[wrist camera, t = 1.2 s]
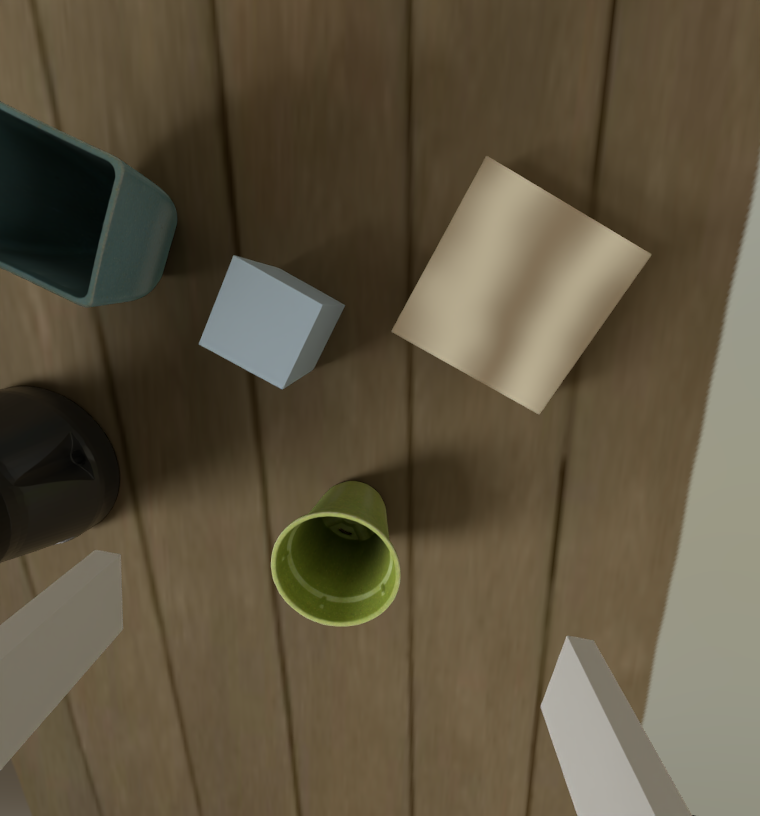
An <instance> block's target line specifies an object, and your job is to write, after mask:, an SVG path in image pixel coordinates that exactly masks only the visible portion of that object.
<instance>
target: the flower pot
mask: <svg viewBox="0 0 760 816" xmlns="http://www.w3.org/2000/svg"><path fill="white" fill-rule="evenodd" d="M176 225H177V212H176V208H175V206H174V204H173V202H172V200H171V199H170V197H169V196H168V195H167V194H166V193H165V192H164V191H163V190H162V189H161V188H160V187H158V186H157V185H156V184H154V183H153V182H152V181H150V180H149V179H147V178H146V177H145V176H143V175H142V174H140V173H139V172H138V171H136V170H135V169H133V168H132V167H130V166H129V165H127V164H126V163H124V162H123V161H121V160H120V159H118V158H117V157H115V156H113V155H111V154H109V153H107V152H105V151H102V150H100V149H98V148H96V147H94V146H92V145H89V144H87V143H85V142H83V141H80V140H78V139H76V138H75V137H72V136H70V135H68V134H66V133H64V132H61V131H59V130H57V129H56V128H53V127H51V126H49V125H47V124H45V123H43V122H41V121H39V120H37V119H35V118H32V117H31V116H29V115H26V114H24V113H22V112H20V111H18V110H16V109H14V108H12V107H10V106H9V105H6V104H4V103H3V102H1V101H0V268H2V269H4V270H6V271H9V272H11V273H13V274H15V275H17V276H20V277H21V278H24V279H26V280H28V281H30V282H32V283H34V284H36V285H38V286H41V287H42V288H45V289H47V290H48V291H51V292H53V293H55V294H57V295H59V296H61V297H63V298H65V299H67V300H69V301H71V302H73V303H75V304H78V305H80V306H83V307H94V306H101V305H108V304H115V303H121V302H128V301H133V300H136V299H139V298H142V297H144V296H145V295H147V294H148V293H150V292H151V291H152V290H153V289H154V287H155V286H156V285H157V283H158V282H159V280H160V279H161V277H162V274H163V271H164V267H165V264H166V261H167V257H168V253H169V250H170V246H171V243H172V239H173V236H174V233H175V229H176Z"/></svg>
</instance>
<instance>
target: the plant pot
mask: <svg viewBox="0 0 760 816" xmlns="http://www.w3.org/2000/svg"><path fill="white" fill-rule="evenodd" d="M339 528H341V529H343V530H345V531H347V532H350V533H352V534H351V535H348V534H345V533H342V532H340V530H339ZM271 570H272V576H273V580H274V582H275V585H276V587H277V589H278V591H279V593H280V595H281V596H282V597H283V599H284V600H285V601H286V602H287V603H288V604H289V605H290V606H291V607H292V608H293V609H294V610H296V611H297V612H298V613H300V614H301V615H303V616H304V617H306V618H308V619H310V620H312V621H315V622H318V623H320V624H324V625H329V626H353V625H358V624H362V623H365V622H368V621H370V620H372V619H374V618H376V617H377V616H379V615H380V614H382V613H383V612H384V611H385V610H386V609H387V608H388V607H389V606H390V604H391V603H392V602H393V600H394V599H395V597H396V594H397V592H398V589H399V585H400V576H401V574H400V564H399V559H398V556H397V553H396V551H395V549H394V547H393V545H392V543H391V542H390V540H389V533H388V524H387V514H386V507H385V504H384V502H383V500H382V498H381V496H380V494H379V493H378V492H377V491H376V490H375V489H373V488H372V487H371V486H369V485H367V484H365V483H362V482H357V481H346V482H343V483H340V484H338V485H335V486H333V487H332V488H330V489H329V490H328V491H327V492H326V494H325V495H324V496H323V497H322V498H321V499H320V501H319V502H318V503H317V504H316V505H315V507H314V508H313V509H312V510H311V511H310V513H309V514H307V515H304V516H302V517H300V518H298V519H296V520H295V521H293V522H292V523H291V524H289V525H288V526H287V527H286V528H285V529H284V530H283V532H282V533H281V534H280V536H279V537H278V539H277V541H276V543H275V545H274V548H273V552H272V557H271Z"/></svg>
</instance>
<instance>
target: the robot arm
mask: <svg viewBox="0 0 760 816" xmlns="http://www.w3.org/2000/svg"><path fill="white" fill-rule="evenodd" d="M118 489H119V469H118V464H117V460H116V457H115V454H114V451H113V449H112V446H111V444H110V442H109V440H108V439H107V437H106V435H105V434H104V432H103V431H102V429H101V428H100V427H99V425H98V424H97V423H96V422H95V421H94V420H93V419H92V417H91V416H90V415H88V414H87V413H86V412H85V411H84V410H83V409H82V408H80V407H79V406H78V405H76V404H75V403H73V402H72V401H70V400H69V399H67V398H65V397H63V396H61V395H59V394H57V393H54V392H52V391H49V390H46V389H42V388H37V387H29V386H18V387H11V388H6V389H1V390H0V563H1V562H4V561H7V560H10V559H13V558H16V557H19V556H22V555H25V554H28V553H31V552H34V551H37V550H40V549H43V548H46V547H48V546H51V545H55V544H59V543H63V542H67V541H69V540H71V539H74V538H76V537H77V536H79V535H81V534H82V533H84V532H85V531H87V530H88V529H90V528H91V527H93V526H94V525H96V524H97V523H99V522H100V521H101V520H102V519H103V518H104V517H105V516H106V515H107V514H108V513H109V512H110V510H111V509H112V507H113V505H114V503H115V500H116V497H117V494H118ZM122 630H123V613H122V579H121V554H116V553H110V552H105V551H99V550H94V551H93V552H92V553H91V554H89V555H88V556H87V557H86V558H84V559H83V560H82V561H81V562H79V563H78V564H77V565H76V566H74V567H73V568H72V569H70V570H69V571H68V572H67V573H65V574H64V575H63V576H62V577H60V578H59V579H58V580H57V581H55V582H54V583H53V584H52V585H50V586H49V587H48V588H47V589H45V590H44V591H43V592H41V593H40V594H39V595H38V596H36V597H35V598H34V599H33V600H31V601H30V602H29V603H28V604H26V605H25V606H24V607H23V608H21V609H20V610H19V611H18V612H16V613H15V614H14V615H12V616H11V617H10V618H9V619H7V620H6V621H5V622H4V623H2V624H1V625H0V770H1V769H2V768H3V767H4V766H5V765H6V763H7V762H8V761H9V760H10V759H11V758H12V757H13V755H14V754H15V753H16V752H17V751H18V750H19V748H20V747H21V746H22V745H23V744H24V743H25V742H26V740H27V739H28V738H29V737H30V736H31V735H32V733H33V732H34V731H35V730H36V729H37V728H38V727H39V725H40V724H41V723H42V722H43V721H44V720H45V718H46V717H47V716H48V715H49V714H50V713H51V712H52V710H53V709H54V708H55V707H56V706H57V705H58V703H59V702H60V701H61V700H62V699H63V698H64V697H65V695H66V694H67V693H68V692H69V691H70V690H71V689H72V687H73V686H74V685H75V684H76V683H77V682H78V680H79V679H80V678H81V677H82V676H83V675H84V674H85V672H86V671H87V670H88V669H89V668H90V667H91V665H92V664H93V663H94V662H95V661H96V660H97V659H98V657H99V656H100V655H101V654H102V653H103V652H104V650H105V649H106V648H107V647H108V646H109V645H110V644H111V642H112V641H113V640H114V639H115V638H116V637H117V635H118V634H119V633H120V632H121V631H122ZM541 709H542V712H543V715H544V718H545V721H546V724H547V727H548V730H549V733H550V736H551V739H552V742H553V745H554V748H555V751H556V754H557V757H558V760H559V762H560V765H561V768H562V771H563V774H564V777H565V780H566V783H567V786H568V789H569V792H570V795H571V798H572V801H573V804H574V807H575V810H576V813H577V816H694V815H691V813H690V811H689V809H688V807H687V806H686V804H685V802H684V800H683V799H682V797H681V795H680V793H679V792H678V790H677V788H676V786H675V784H674V783H673V781H672V779H671V777H670V775H669V774H668V772H667V770H666V768H665V767H664V765H663V763H662V761H661V759H660V758H659V756H658V754H657V752H656V751H655V749H654V747H653V745H652V743H651V742H650V740H649V738H648V736H647V735H646V733H645V731H644V729H643V727H642V726H641V724H640V722H639V720H638V719H637V717H636V715H635V713H634V711H633V710H632V708H631V706H630V704H629V703H628V701H627V699H626V697H625V695H624V694H623V692H622V690H621V688H620V687H619V685H618V683H617V681H616V679H615V678H614V676H613V674H612V672H611V671H610V669H609V667H608V665H607V663H606V662H605V660H604V658H603V656H602V655H601V653H600V651H599V649H598V647H597V646H596V644H595V642H594V640H588V639H583V638H577V637H572V636H567V637H566V640H565V642H564V645H563V648H562V650H561V653H560V656H559V658H558V661H557V664H556V667H555V669H554V672H553V675H552V677H551V680H550V683H549V685H548V688H547V691H546V693H545V696H544V699H543V702H542V704H541Z"/></svg>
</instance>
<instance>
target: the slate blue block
mask: <svg viewBox="0 0 760 816" xmlns="http://www.w3.org/2000/svg"><path fill="white" fill-rule="evenodd" d="M344 307H345V305H344V304H342V303H340V302H339V301H337V300H335V299H333V298H332V297H330V296H328V295H326V294H324V293H323V292H321V291H319V290H317V289H316V288H314V287H312V286H310V285H308V284H307V283H305V282H303V281H301V280H299V279H298V278H296V277H294V276H292V275H291V274H289V273H287V272H285V271H283V270H282V269H280V268H277V267H274V266H270V265H267V264H263V263H260V262H256V261H253V260H249V259H246V258H242V257H238V256H235V255H234V256H233V258H232V261H231V263H230V266H229V268H228V271H227V273H226V276H225V279H224V281H223V284H222V286H221V289H220V291H219V294H218V296H217V299H216V301H215V304H214V306H213V309H212V312H211V314H210V317H209V319H208V322H207V324H206V327H205V329H204V332H203V334H202V337H201V339H200V342H199V345H201V346H203V347H205V348H207V349H208V350H210V351H212V352H214V353H216V354H218V355H219V356H221V357H223V358H225V359H227V360H229V361H231V362H232V363H234V364H236V365H238V366H240V367H242V368H243V369H245V370H247V371H249V372H251V373H253V374H255V375H256V376H258V377H260V378H262V379H264V380H266V381H267V382H269V383H271V384H273V385H275V386H277V387H279V388H280V389H282V390H283V389H284V388H286V387H287V386H289V385H290V384H292V383H293V382H295V381H297V380H298V379H300V378H301V377H303V376H304V375H306V374H307V373H309V372H311V371H312V370H313V369H314V367H315V365H316V363H317V361H318V359H319V357H320V355H321V353H322V351H323V349H324V347H325V345H326V343H327V341H328V339H329V337H330V335H331V333H332V331H333V329H334V327H335V325H336V323H337V321H338V319H339V317H340V315H341V313H342V311H343V309H344Z"/></svg>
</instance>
